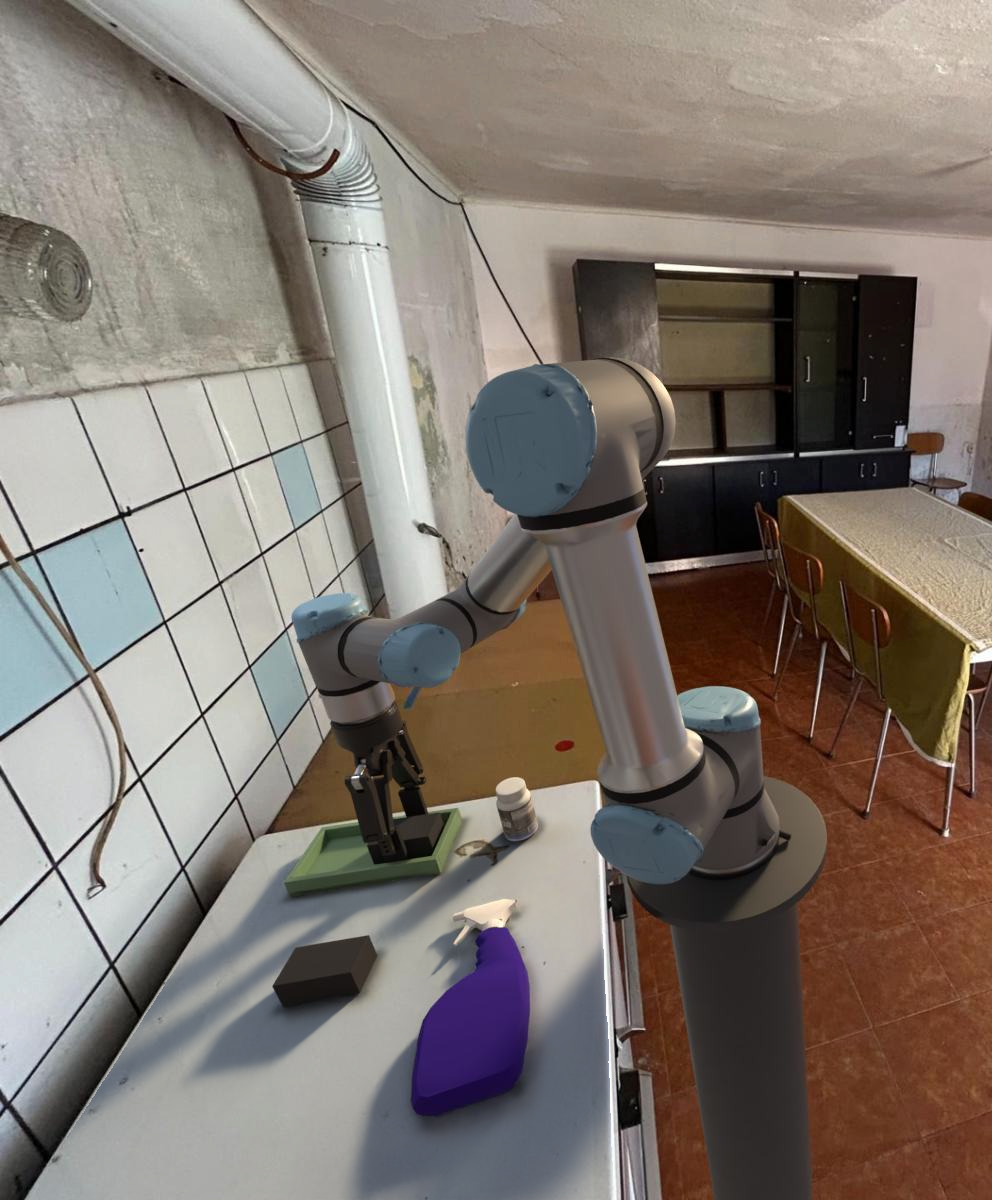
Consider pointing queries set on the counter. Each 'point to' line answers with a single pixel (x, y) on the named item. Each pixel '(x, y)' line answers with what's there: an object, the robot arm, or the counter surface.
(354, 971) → the dark brown rectangular block
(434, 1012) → the spray bottle
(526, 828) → the pill bottle
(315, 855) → the tray
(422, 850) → the pad
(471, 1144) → the counter surface
